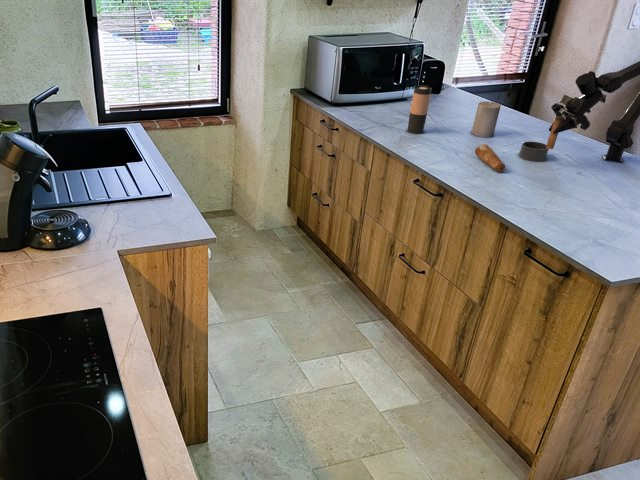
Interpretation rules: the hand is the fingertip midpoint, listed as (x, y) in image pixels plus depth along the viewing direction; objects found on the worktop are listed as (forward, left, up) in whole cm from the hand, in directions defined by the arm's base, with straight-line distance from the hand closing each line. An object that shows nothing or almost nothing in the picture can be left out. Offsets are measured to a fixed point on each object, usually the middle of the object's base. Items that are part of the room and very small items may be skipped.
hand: (551, 131), depth 233 cm
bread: (+9, -19, -14) cm, 25 cm away
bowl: (-8, -4, -13) cm, 16 cm away
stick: (-1, +1, -7) cm, 7 cm away
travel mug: (-22, -55, -14) cm, 60 cm away
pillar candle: (-32, -26, -14) cm, 43 cm away
